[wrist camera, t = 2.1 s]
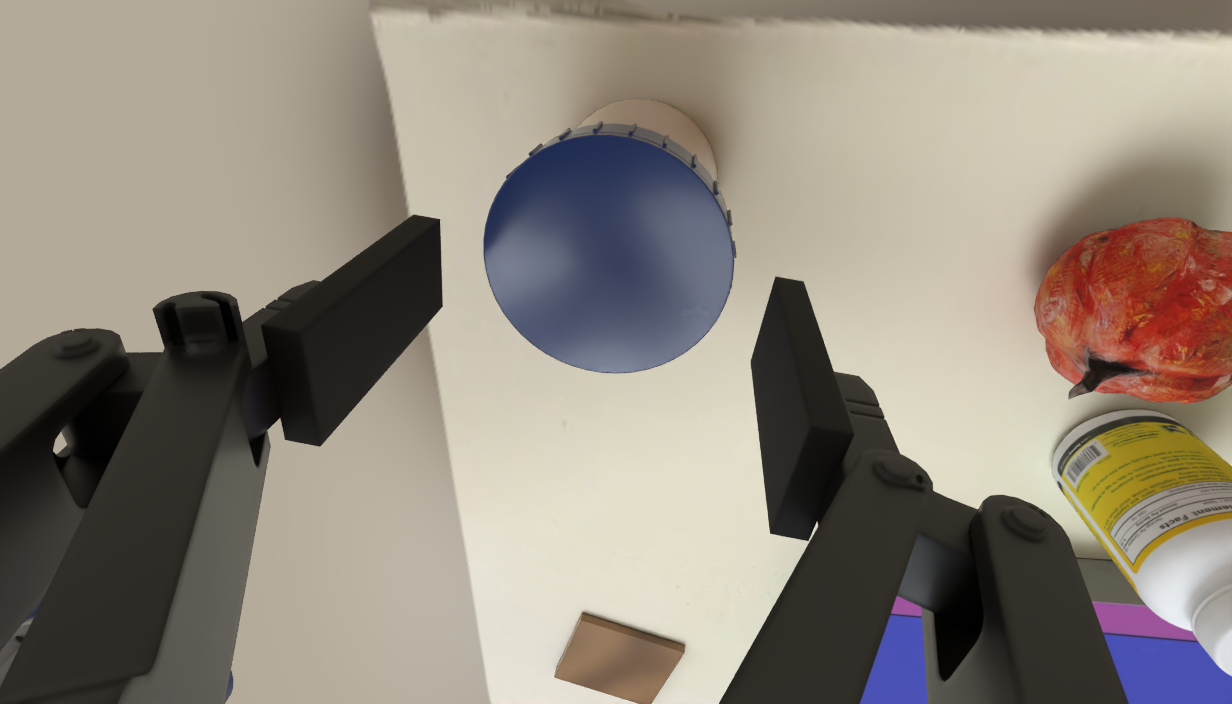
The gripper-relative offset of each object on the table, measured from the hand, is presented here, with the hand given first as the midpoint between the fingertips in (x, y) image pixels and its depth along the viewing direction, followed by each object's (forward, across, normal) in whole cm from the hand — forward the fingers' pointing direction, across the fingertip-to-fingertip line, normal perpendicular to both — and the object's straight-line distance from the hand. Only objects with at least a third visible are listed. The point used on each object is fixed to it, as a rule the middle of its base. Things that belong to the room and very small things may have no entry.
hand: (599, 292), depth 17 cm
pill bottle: (+12, +26, -10) cm, 31 cm away
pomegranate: (+12, +21, -1) cm, 24 cm away
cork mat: (+12, +4, -36) cm, 39 cm away
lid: (+2, 0, 0) cm, 2 cm away
